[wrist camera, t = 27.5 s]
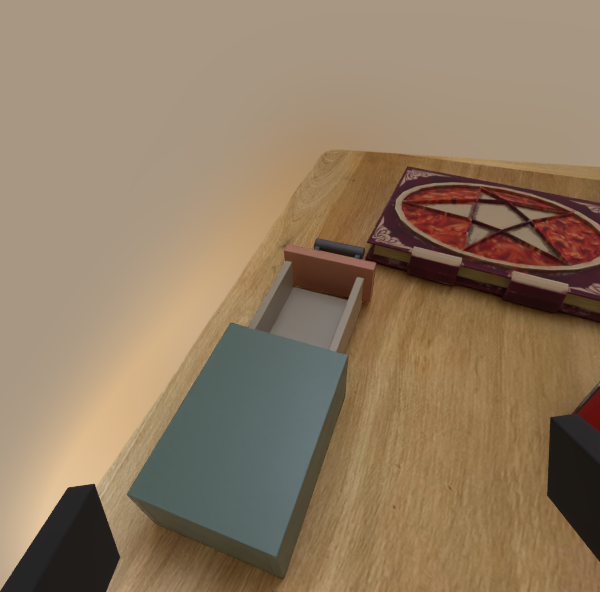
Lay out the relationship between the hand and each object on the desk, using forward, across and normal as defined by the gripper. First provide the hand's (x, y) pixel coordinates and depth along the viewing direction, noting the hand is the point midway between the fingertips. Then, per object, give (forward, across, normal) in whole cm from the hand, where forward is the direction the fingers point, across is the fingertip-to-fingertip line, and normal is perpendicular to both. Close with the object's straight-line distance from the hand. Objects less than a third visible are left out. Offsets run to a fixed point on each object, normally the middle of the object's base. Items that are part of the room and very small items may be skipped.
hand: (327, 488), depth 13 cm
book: (+46, +26, -5) cm, 53 cm away
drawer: (+35, +1, -8) cm, 36 cm away
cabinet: (+23, -6, -16) cm, 29 cm away
